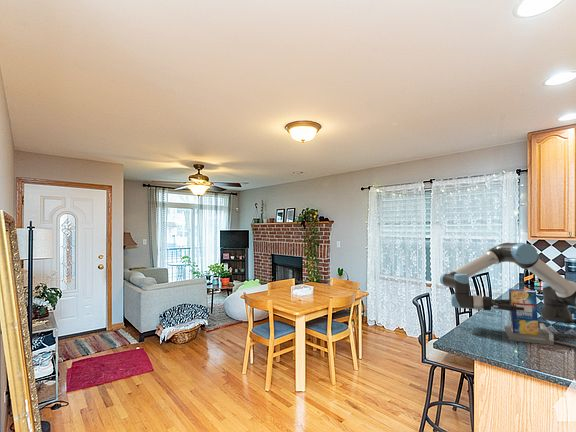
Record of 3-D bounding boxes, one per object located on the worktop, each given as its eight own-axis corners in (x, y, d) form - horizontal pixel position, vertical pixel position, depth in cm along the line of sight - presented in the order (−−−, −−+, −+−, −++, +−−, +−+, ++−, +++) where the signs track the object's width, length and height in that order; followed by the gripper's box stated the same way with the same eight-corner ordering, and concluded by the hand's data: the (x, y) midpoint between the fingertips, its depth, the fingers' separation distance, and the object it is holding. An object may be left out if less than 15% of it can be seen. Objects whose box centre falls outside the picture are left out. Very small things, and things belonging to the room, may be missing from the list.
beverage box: (538, 335, 162) (536, 291, 164) (512, 332, 167) (510, 290, 169) (535, 331, 168) (533, 289, 170) (510, 329, 173) (508, 288, 175)
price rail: (540, 328, 173) (539, 323, 174) (543, 329, 173) (543, 323, 173) (549, 340, 154) (549, 334, 154) (553, 341, 154) (553, 334, 154)
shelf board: (504, 328, 181) (504, 324, 181) (543, 332, 173) (543, 329, 173) (508, 339, 162) (508, 335, 162) (553, 345, 153) (553, 341, 154)
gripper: (481, 305, 188) (525, 308, 178) (484, 314, 166) (534, 319, 156) (481, 292, 189) (525, 295, 178) (483, 300, 167) (533, 304, 157)
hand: (529, 306), depth 167 cm, fingers open, 13 cm apart
